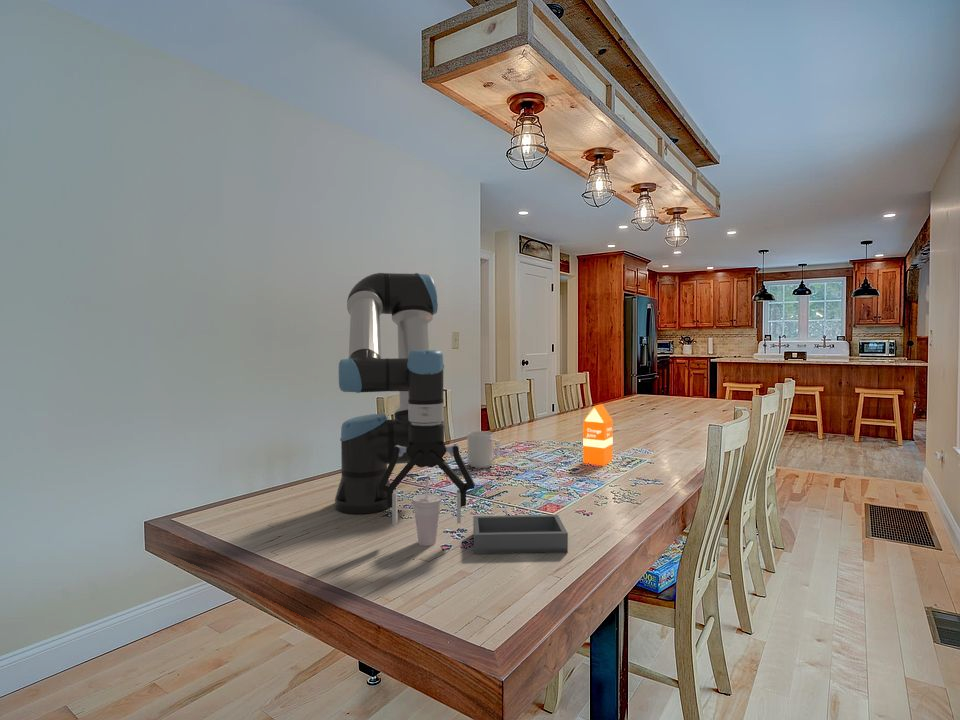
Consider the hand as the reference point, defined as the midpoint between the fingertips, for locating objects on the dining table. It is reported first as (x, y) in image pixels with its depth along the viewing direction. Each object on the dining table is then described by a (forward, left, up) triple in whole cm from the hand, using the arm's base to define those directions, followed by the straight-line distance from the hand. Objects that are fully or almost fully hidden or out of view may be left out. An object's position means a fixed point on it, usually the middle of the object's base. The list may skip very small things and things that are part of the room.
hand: (427, 521), depth 113 cm
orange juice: (-70, +55, -5) cm, 89 cm away
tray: (+1, +19, -5) cm, 20 cm away
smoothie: (0, 0, -5) cm, 5 cm away
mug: (-65, +15, -5) cm, 67 cm away
